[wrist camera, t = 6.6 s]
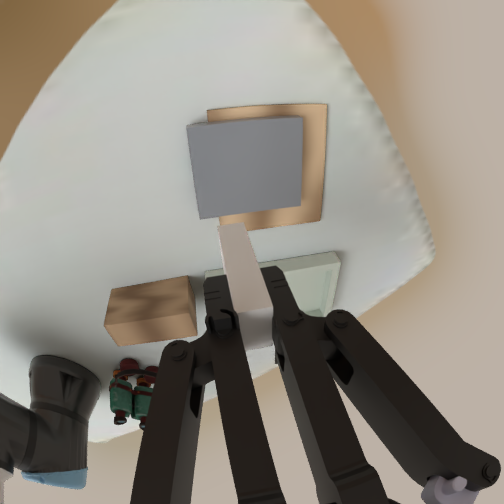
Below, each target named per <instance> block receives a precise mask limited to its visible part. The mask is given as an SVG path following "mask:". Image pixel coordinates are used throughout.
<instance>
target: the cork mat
mask: <svg viewBox="0 0 504 504" xmlns="http://www.w3.org/2000/svg"><path fill="white" fill-rule="evenodd" d="M288 115H299V116H301V117H303V149H302V187H301V206H297V207H288V208H280V209H272V210H264V211H257V212H249V213H242V214H234V215H227V216H220V217H219V221H220V226H221V225H227V224H234V223H241V222H244V225H245V228H246V230H247V231H250V230H257V229H265V228H272V227H279V226H287V225H294V224H302V223H309V222H317V221H320V218H321V206H322V193H323V179H324V164H325V144H326V119H327V105H326V104H278V105H259V106H245V107H234V108H224V109H215V110H207V116H208V122H214V121H222V120H231V119H242V118H254V117H268V116H288Z"/></svg>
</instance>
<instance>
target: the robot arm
mask: <svg viewBox="0 0 504 504" xmlns="http://www.w3.org/2000/svg"><path fill="white" fill-rule="evenodd" d="M217 227H218V235H219V242H220V250H221V257H222V264H223V269H224V274H225V275H219V276H213V277H207V278H206V280H205V282H204V285H203V287H204V296H205V304H206V313H207V315H206V318H205V324H206V327H207V330H206V332H205V333H204V335H203V336H201V337H200V338H198V339H197V340H194V341H192V342H190V343H189V342H187V341H184V340H176V341H173V342H171V343H169V344H168V345H167V346H166V347H165V348H164V350H163V352H162V356H161V360H160V364H159V368H158V372H157V376H156V380H155V384H154V388H153V392H152V396H151V400H150V405H149V409H148V413H147V418H146V422H145V427H144V432H143V436H142V441H141V446H140V451H139V457H138V461H137V467H136V472H135V478H134V483H133V489H132V495H131V501H130V504H190V503H191V494H192V484H193V476H194V467H195V460H196V451H197V443H198V435H199V428H200V419H201V413H202V406H203V398H204V391H205V384H207V383H209V382H211V381H213V380H215V383H216V389H217V395H218V401H219V407H220V413H221V419H222V424H223V429H224V435H225V440H226V445H227V450H228V455H229V460H230V465H231V469H232V474H233V479H234V483H235V488H236V492H237V497H238V504H286V501H285V498H284V495H283V493H282V490H281V487H280V484H279V481H278V477H277V474H276V470H275V466H274V462H273V459H272V455H271V451H270V448H269V444H268V440H267V436H266V433H265V429H264V425H263V421H262V417H261V413H260V409H259V405H258V401H257V398H256V393H255V389H254V385H253V381H252V377H251V373H250V369H249V365H248V361H247V357H246V352H245V351H247V350H253V349H258V348H263V347H268V346H273V342H274V346H275V364H278V365H279V369H280V372H281V375H282V378H283V381H284V385H285V388H286V391H287V395H288V398H289V401H290V404H291V407H292V410H293V414H294V417H295V420H296V423H297V427H298V430H299V433H300V436H301V439H302V443H303V446H304V449H305V452H306V455H307V458H308V461H309V464H310V468H311V471H312V474H313V477H314V480H315V484H316V491H317V497H318V500H319V504H400V503H398V502H396V501H394V500H392V499H389V498H387V496H386V493H385V490H384V488H383V485H382V483H381V480H380V477H379V475H378V473H377V471H376V470H375V469H374V467H372V466H371V465H370V464H368V462H367V461H366V458H365V456H364V453H363V451H362V448H361V446H360V443H359V441H358V438H357V436H356V433H355V431H354V428H353V426H352V423H351V421H350V418H349V416H348V413H347V411H346V408H345V406H344V403H343V401H342V399H341V396H340V394H339V391H338V389H337V386H336V384H335V382H334V380H335V381H336V382H337V384H338V385H339V386H340V388H341V389H342V390H343V391H344V393H345V394H346V395H347V397H348V398H349V399H350V401H351V402H352V403H353V405H354V406H355V407H356V409H357V410H358V411H359V412H360V414H361V415H362V416H363V418H364V419H365V420H366V422H367V423H368V424H369V425H370V427H371V428H372V429H373V431H374V432H375V433H376V435H377V436H378V437H379V438H380V440H381V441H382V442H383V444H384V445H385V446H386V447H387V449H388V450H389V451H390V453H391V454H392V455H393V456H394V458H395V459H396V460H397V462H398V463H399V464H400V465H401V467H402V468H403V469H404V471H405V472H406V473H407V474H408V475H409V476H410V477H411V478H412V479H413V480H414V481H416V482H417V483H418V484H419V485H421V486H423V487H424V489H423V491H422V493H421V498H422V500H424V502H425V503H426V504H473V503H474V501H475V499H476V497H477V495H478V493H479V491H480V490H482V489H484V488H487V487H489V486H492V485H493V484H494V483H495V482H496V481H497V479H498V478H499V475H500V471H501V467H500V463H499V460H498V459H496V458H495V457H494V456H492V455H490V454H487V453H486V452H484V451H482V450H480V449H478V448H476V447H474V446H472V445H470V444H468V443H466V442H464V441H463V439H462V438H461V437H460V436H459V435H458V433H457V432H456V431H455V430H454V429H453V427H452V426H451V425H450V424H449V423H448V422H447V420H446V419H445V418H444V417H443V416H442V415H441V413H440V412H439V411H438V410H437V409H436V407H435V406H434V405H433V404H432V403H431V402H430V400H429V399H428V398H427V397H426V396H425V395H424V394H423V392H422V391H421V390H420V389H419V388H418V387H417V386H416V384H414V382H413V381H412V380H411V379H410V378H409V376H408V375H407V374H406V373H405V372H404V371H403V370H402V369H401V367H400V366H399V365H398V364H397V363H396V362H395V361H394V360H393V359H392V357H391V356H390V355H389V354H388V353H387V352H386V351H385V350H384V349H383V348H382V346H381V345H380V344H379V343H378V342H377V341H376V340H375V339H374V338H373V337H372V336H371V334H370V333H369V332H368V331H367V330H366V329H365V328H364V327H363V326H362V325H361V324H360V322H359V321H358V320H357V319H356V318H355V317H354V316H353V315H352V314H351V313H349V312H348V311H345V310H338V309H337V310H333V311H331V312H330V313H328V314H327V316H326V317H316V316H310V315H307V314H305V313H304V312H303V311H302V310H300V309H299V307H298V305H297V303H296V300H295V298H294V296H293V294H292V291H291V289H290V287H289V284H288V282H287V280H286V277H285V275H284V273H283V271H282V270H281V269H280V268H278V267H277V266H276V265H275V266H269V267H263V268H259V265H258V262H257V259H256V256H255V253H254V250H253V248H252V245H251V242H250V239H249V236H248V233H247V230H246V228H245V225H244V222H241V223H234V224H227V225H221V226H217ZM29 378H30V394H31V404H30V409H28V408H26V407H24V406H22V405H20V404H19V403H17V402H15V401H13V400H12V399H10V398H8V397H7V396H5V395H3V394H2V393H0V504H4V482H5V481H6V480H8V479H9V478H11V477H13V471H14V470H13V469H14V467H15V468H17V469H20V470H22V472H21V474H22V476H23V478H24V479H25V480H29V481H33V482H37V483H42V484H47V485H52V486H58V487H64V488H70V489H82V488H84V487H85V485H86V477H87V470H88V467H87V441H88V423H89V418H90V416H91V414H92V412H93V409H94V407H95V405H96V403H97V400H98V399H99V397H100V389H101V384H100V382H99V380H98V379H97V377H96V376H95V375H94V374H92V373H91V372H90V371H88V370H87V369H85V368H83V367H82V366H80V365H78V364H76V363H73V362H71V361H68V360H65V359H62V358H58V357H54V356H38V357H35V358H34V359H33V360H32V361H31V364H30V368H29ZM333 378H334V379H333Z"/></svg>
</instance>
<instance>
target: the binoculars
mask: <svg viewBox="0 0 504 504" xmlns="http://www.w3.org/2000/svg"><path fill="white" fill-rule="evenodd" d="M157 372H158V367H156V366H149V367H147V368H146V369H145V370H142V369H139V366H138V362H137V361H136V360H134V359H124V360H122V361H121V362H120V370H116V371H114V372H113V377H114V378H113V379H112V380H111V381H110V386H109V391H110V408H111V411H112V412H113V413H115V414H116V417H114V424H116V425H121V424H125V423H126V422H127V419H126V418H125V417H129V415H130V414H131V417H132V418H133V419H137V420H140V422H141V423H140V424H139V427H140V429H142V430H144V427H145V422H146V418H147V413H148V409H149V405H150V400H151V396H152V392H153V388H149V387H150V386H151V384H155V380H156V376H157ZM135 374H138V375H144V378H138V379H137V386H136V387H134V390H132V385H131V384H130V383H129V382H127V380H128V376H132V375H135Z"/></svg>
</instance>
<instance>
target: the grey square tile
mask: <svg viewBox="0 0 504 504" xmlns="http://www.w3.org/2000/svg"><path fill="white" fill-rule="evenodd" d="M186 129H187V136H188V144H189V151H190V158H191V165H192V172H193V179H194V185H195V192H196V198H197V204H198V210H199V216H200V219H206V218H213V217H220V216H227V215H234V214H242V213H249V212H257V211H264V210H272V209H280V208H288V207H297V206H301V187H302V149H303V117H301V116H299V115H288V116H268V117H254V118H242V119H231V120H222V121H214V122H206V123H198V124H192V125H187V128H186Z"/></svg>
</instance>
